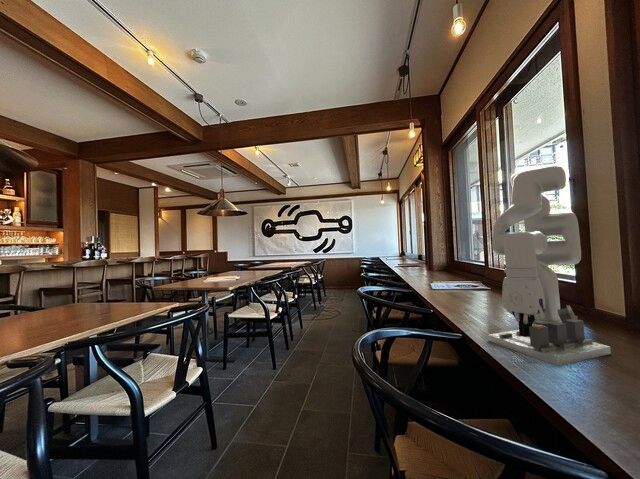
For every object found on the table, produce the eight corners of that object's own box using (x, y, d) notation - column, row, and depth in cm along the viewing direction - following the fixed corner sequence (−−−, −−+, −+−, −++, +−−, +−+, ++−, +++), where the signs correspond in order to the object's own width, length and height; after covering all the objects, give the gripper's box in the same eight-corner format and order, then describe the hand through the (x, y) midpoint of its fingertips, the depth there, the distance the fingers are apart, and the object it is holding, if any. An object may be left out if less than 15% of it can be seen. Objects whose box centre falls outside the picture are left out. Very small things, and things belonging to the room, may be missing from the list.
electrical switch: (585, 340, 87) (578, 310, 88) (563, 339, 90) (557, 310, 91) (581, 332, 94) (576, 305, 95) (561, 331, 97) (556, 305, 98)
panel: (534, 332, 96) (533, 324, 96) (610, 353, 76) (609, 342, 76) (488, 340, 91) (487, 331, 91) (557, 365, 71) (556, 353, 71)
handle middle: (557, 340, 81) (555, 321, 81) (567, 343, 79) (565, 323, 79) (548, 342, 80) (547, 322, 81) (558, 344, 78) (556, 325, 78)
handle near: (574, 337, 83) (573, 318, 83) (584, 339, 81) (583, 320, 81) (566, 338, 82) (564, 320, 82) (576, 341, 80) (574, 322, 80)
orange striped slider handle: (539, 343, 79) (538, 323, 80) (549, 346, 77) (547, 326, 77) (530, 345, 78) (529, 325, 79) (540, 348, 76) (538, 327, 76)
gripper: (489, 272, 88) (494, 330, 88) (537, 276, 74) (542, 346, 73) (508, 271, 90) (512, 327, 90) (558, 274, 76) (563, 342, 75)
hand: (526, 335), depth 81 cm, fingers closed
